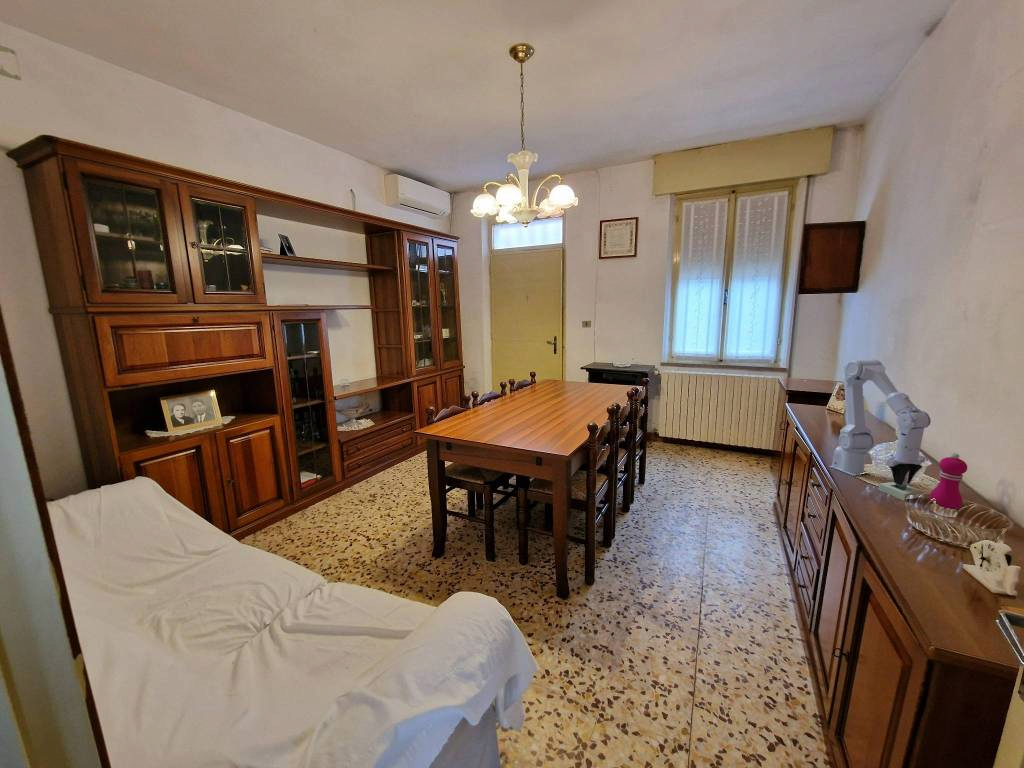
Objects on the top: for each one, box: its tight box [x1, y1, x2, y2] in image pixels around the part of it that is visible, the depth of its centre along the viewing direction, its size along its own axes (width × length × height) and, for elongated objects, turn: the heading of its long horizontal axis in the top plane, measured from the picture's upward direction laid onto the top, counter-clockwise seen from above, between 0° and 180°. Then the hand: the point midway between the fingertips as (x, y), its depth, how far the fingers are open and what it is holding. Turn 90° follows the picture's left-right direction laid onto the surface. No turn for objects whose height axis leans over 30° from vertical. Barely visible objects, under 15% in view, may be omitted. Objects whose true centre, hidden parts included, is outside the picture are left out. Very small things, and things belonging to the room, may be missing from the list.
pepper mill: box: [929, 452, 968, 509], centre depth 129 cm, size 7×7×20 cm
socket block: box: [877, 481, 924, 502], centre depth 144 cm, size 8×8×2 cm
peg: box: [895, 466, 910, 490], centre depth 143 cm, size 3×3×8 cm
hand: (901, 483), depth 143 cm, fingers closed on peg, 3 cm apart
